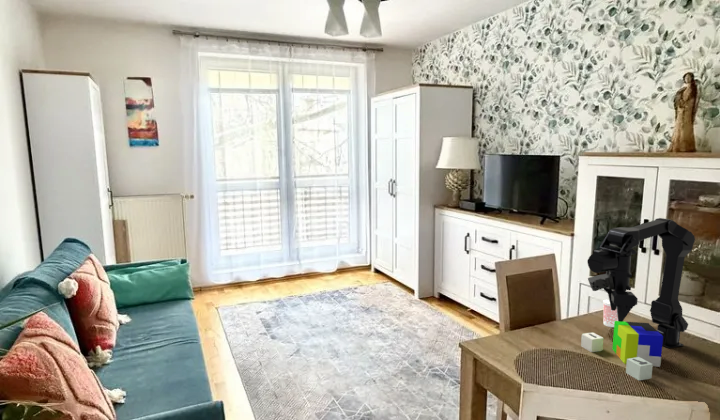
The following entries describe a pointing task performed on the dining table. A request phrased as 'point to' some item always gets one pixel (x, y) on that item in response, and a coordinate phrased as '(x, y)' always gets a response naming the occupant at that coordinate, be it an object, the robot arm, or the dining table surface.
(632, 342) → the puzzle toy
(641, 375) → the digit block seven
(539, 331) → the dining table surface
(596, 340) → the digit block one
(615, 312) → the beverage cup
